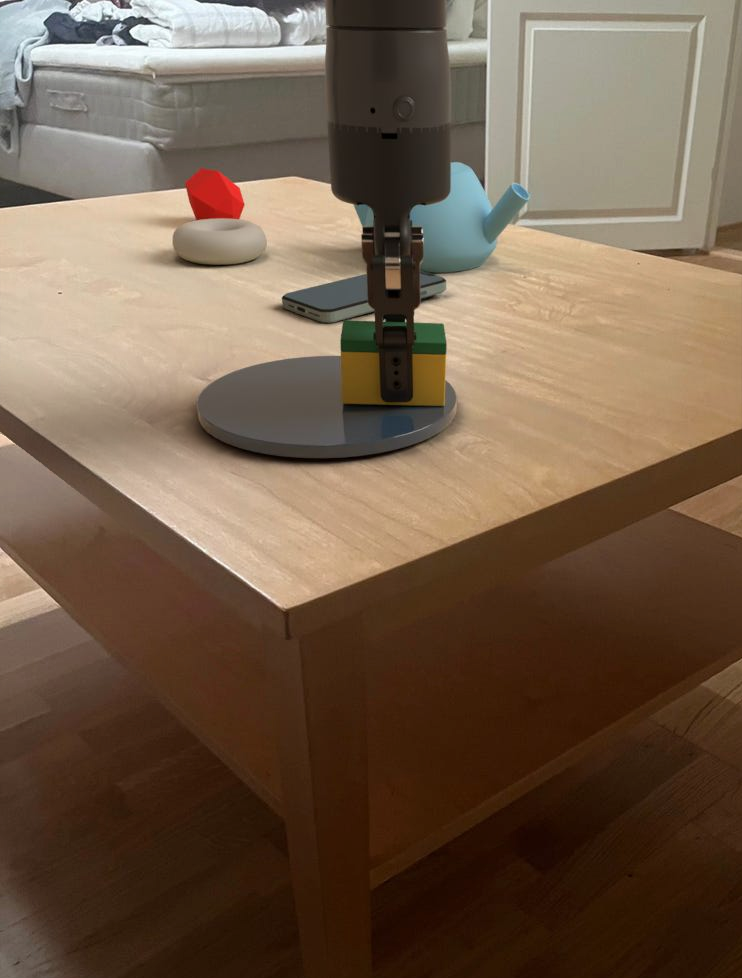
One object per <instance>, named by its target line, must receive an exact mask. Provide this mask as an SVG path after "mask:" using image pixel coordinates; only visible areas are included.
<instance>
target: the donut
mask: <svg viewBox="0 0 742 978" xmlns="http://www.w3.org/2000/svg"><path fill="white" fill-rule="evenodd" d="M267 244H268V240H267V235H266V234H265V230H263V228H262V227H260V225H258V224H256V223H254V222H252V221H249V220H245V219H240V218H239V219H224V218H220V219H202V220H196V219H195V220H191V221H187V222H184V223H182V224H180V225H179V226H178V227H177V228H175V230H173V233H172V248H173V250H174V251H175V253H176V255H178V256H179V257H181V258H182V259H183V260H186V261H188V262H191V263H195V264H200V265H211V266H212V265H213V266H221V265H236V264H237V265H238V264H242V263H248V262H250V261H254V260H256V259H258V258H259V257H260V256H262V255H263V253H264V252H265V251H266V249H267V246H268V245H267Z"/></svg>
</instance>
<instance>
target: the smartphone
mask: <svg viewBox="0 0 742 978" xmlns="http://www.w3.org/2000/svg"><path fill="white" fill-rule="evenodd" d="M420 287H421V301H422V300H426V299H430V298H433V297H435V296H436V295H439V294H443V293H445V291H446V290H447V279H446V278H445V277H443V276H440V275H437V274H434V273H428V272H424V271H420ZM281 304H282V305H281V306H282V308H284V309H285V310H286V311H289V312H291V313H295V314H297V315H300V316H303V317H306V318H309V319H312V320H314V321H317V322H319V323H322V324H330V323H332V324H333V323H337V322H341V321H344V320H349V319H351V318H355V317H359V316H363V315H367V314H370V313H373V312H374V310H373V309H371V308H370V307H369V305H368V302H367V273H364V274H359V275H356V276H352V277H347V278H343V279H340V280H339V279H338V280H334V281H332V282H327V283H322V284H319V285H315V286H314V285H313V286H310V287H307V288H303V289H298V290H294V291H290V292H286V293H285V294H284V295H282V296H281ZM374 313H375V312H374Z"/></svg>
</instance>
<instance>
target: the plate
mask: <svg viewBox="0 0 742 978" xmlns="http://www.w3.org/2000/svg"><path fill="white" fill-rule="evenodd" d="M457 397H458V396H457V393H456V390H455V389H454V386H453V385H452V384H451V383H450V382H448V380H446V379H445V405H444V406H414V405H374V404H342V389H341V355H315V356H314V355H312V356H302V357H301V356H300V357H290V358H284V359H278V360H271V361H267V362H261V363H258V364H254V365H249V366H247V367H243V368H240V369H236V370H234V371H232V372H229V373H226V374H224V375H222V376H221V377H219V378H217V379H215V380H214V381H212V382H211V383H209V384H208V385H206V387H204V388H203V390H201V392H200V393H199V395H198V396H197V400H196V411H197V420H198V421H199V424H200V425H201V427H202V428H203V429H204V430H205V432H206V433H207V434H209V435H211V436H212V437H214V438H215V439H216V440H218V441H221V442H223V443H224V444H227V445H231V446H233V447H235V448H238V449H242V450H245V451H249V452H252V453H258V454H262V455H270V456H278V457H285V458H298V459H299V458H301V459H337V458H338V459H339V458H351V457H362V456H369V455H374V454H375V455H376V454H381V453H385V452H391V451H395V450H399V449H402V448H406V447H409V446H413V445H415V444H418V443H420V442H424V441H426V440H428V439H430V438H432V437H434V436H436V435H437V434H440V432H442V431H444V429H446V428H447V427H448V426H449V425H450V424H451V423H452V421H453V420H454V419H455V416H456V414H457V407H458V406H457V403H458V402H457V399H458V398H457Z"/></svg>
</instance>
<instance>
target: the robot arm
mask: <svg viewBox="0 0 742 978" xmlns="http://www.w3.org/2000/svg"><path fill="white" fill-rule="evenodd" d="M447 3H448V2H447V0H324V10H325V25H326V26H327V27H326V28H325V31H326V32H325V36H326V37H325V42H326V43H325V55H324V87H325V88H324V89H325V103H326V105H325V106H326V124H327V139H328V140H327V141H328V156H329V157H328V158H329V175H330V191H331V192H332V195H333V196H334V197H335V198H336V199H337V200H339V201H341V202H343V203H346V204H350V205H353V204H354V205H362V204H364V205H367V206H369V207H370V208H371V209H372V211H373V215H374V220H373V226H362V225H361V228H362V229H361V230H362V231H361V234H360V237H361V238H360V240H361V241H360V243H361V258H362V261H363V262H364V263H365V269H366V273H365V274H367V302H368V305H369V307H370V308H371V309H373V310H374V321H375V332H373V338H374V342H376V346H377V347H379V369H380V395H381V399H382V400H383V401H385V402H409V401H411V400H412V398H413V357H412V347H414V341H415V342H416V332H414V323H415V311H416V310H418V309H419V308H420V306H421V302H422V300H421V287H420V264H421V263H422V261H423V258H424V241H423V232H422V226H412V220H410V212H411V210H412V208H413V207H414V206H416V205H430V204H435V203H438V202H441V201H443V200H444V199H446V198H447V197H448V195H449V194H450V190H451V162H452V151H451V150H452V146H451V145H452V97H451V96H452V79H451V78H452V77H451V76H452V75H451V62H450V56H449V46H448V32H447V29H446V28H447V25H448V24H447V23H448V22H447V19H448V18H447V12H448V11H447V8H448V7H447V6H448V5H447ZM354 205H353V206H354ZM383 322H406V326H384V328H383Z"/></svg>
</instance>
